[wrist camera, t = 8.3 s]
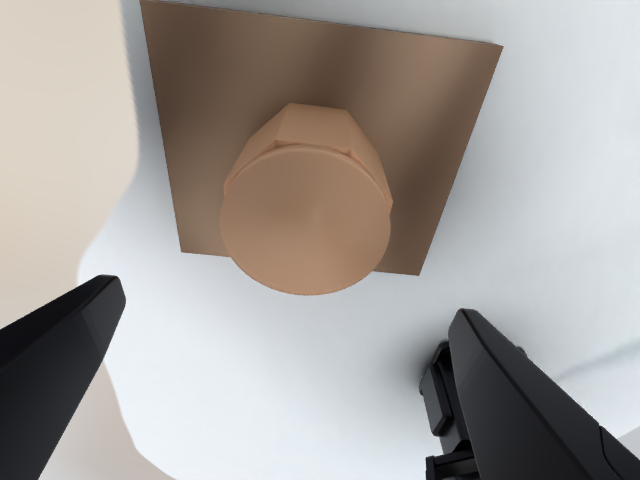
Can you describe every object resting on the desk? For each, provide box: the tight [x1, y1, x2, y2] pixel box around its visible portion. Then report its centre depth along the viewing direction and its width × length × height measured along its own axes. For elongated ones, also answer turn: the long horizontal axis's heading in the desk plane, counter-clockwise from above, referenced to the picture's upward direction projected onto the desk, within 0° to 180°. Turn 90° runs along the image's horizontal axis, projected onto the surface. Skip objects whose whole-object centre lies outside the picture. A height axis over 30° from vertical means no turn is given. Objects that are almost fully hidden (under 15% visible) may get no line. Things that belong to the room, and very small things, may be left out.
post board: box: [140, 0, 504, 276], centre depth 15 cm, size 14×12×5 cm
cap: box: [219, 103, 393, 295], centre depth 14 cm, size 6×6×6 cm
